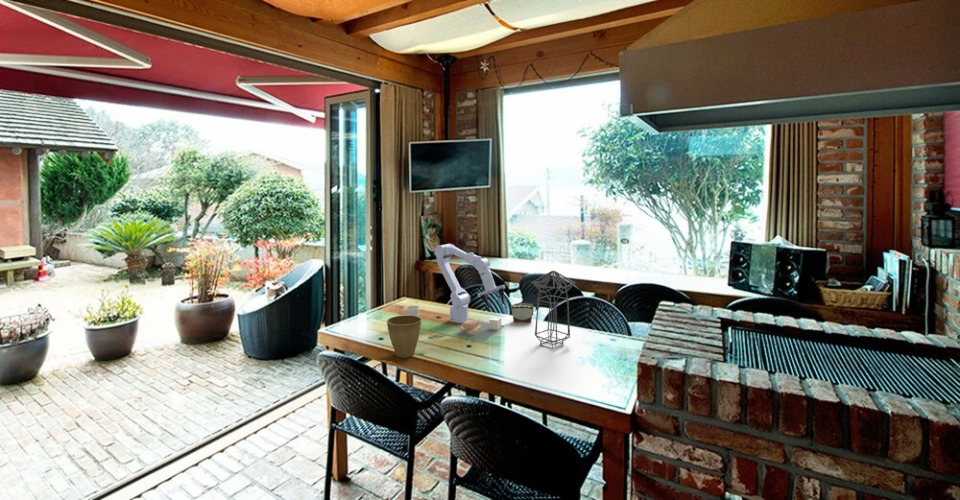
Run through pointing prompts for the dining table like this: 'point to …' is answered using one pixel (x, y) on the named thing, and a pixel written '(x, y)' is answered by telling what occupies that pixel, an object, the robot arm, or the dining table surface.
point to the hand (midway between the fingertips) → (496, 306)
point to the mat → (481, 332)
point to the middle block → (470, 324)
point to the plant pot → (404, 334)
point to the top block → (495, 323)
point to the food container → (522, 312)
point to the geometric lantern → (551, 304)
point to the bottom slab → (471, 330)
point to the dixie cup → (412, 310)
